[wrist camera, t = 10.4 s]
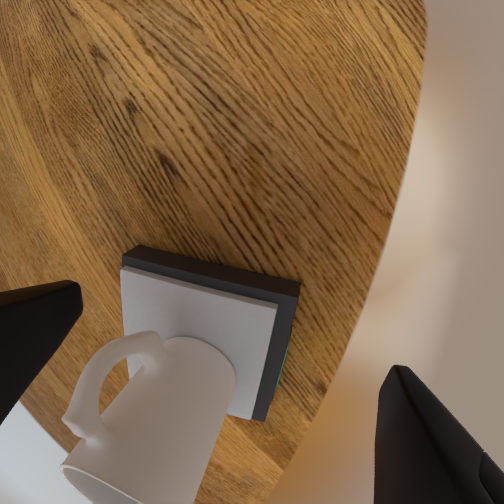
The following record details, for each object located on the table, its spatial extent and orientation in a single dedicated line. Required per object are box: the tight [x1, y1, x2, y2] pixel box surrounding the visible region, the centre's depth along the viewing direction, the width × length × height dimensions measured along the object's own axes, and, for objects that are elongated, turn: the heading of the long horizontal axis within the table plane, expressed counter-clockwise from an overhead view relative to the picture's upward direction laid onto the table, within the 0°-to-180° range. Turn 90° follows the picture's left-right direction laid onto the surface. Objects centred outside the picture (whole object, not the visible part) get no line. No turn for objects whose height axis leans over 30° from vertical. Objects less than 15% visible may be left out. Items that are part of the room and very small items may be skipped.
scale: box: [120, 245, 301, 422], centre depth 22 cm, size 12×12×3 cm
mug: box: [60, 331, 236, 504], centre depth 15 cm, size 10×7×12 cm, turn 12°
